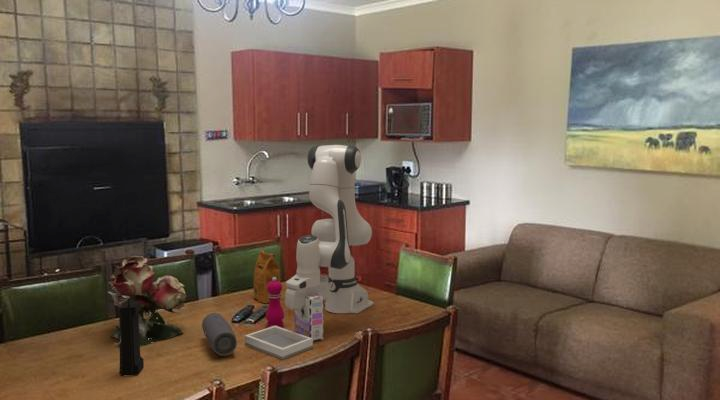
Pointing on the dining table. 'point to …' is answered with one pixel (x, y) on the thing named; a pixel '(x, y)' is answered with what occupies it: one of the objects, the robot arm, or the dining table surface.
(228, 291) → the dining table surface
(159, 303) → the rose bouquet
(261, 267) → the coffee package
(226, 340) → the bluetooth speaker
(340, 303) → the robot arm
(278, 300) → the pepper mill
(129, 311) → the portable radio
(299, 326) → the candy box
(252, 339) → the white tray
